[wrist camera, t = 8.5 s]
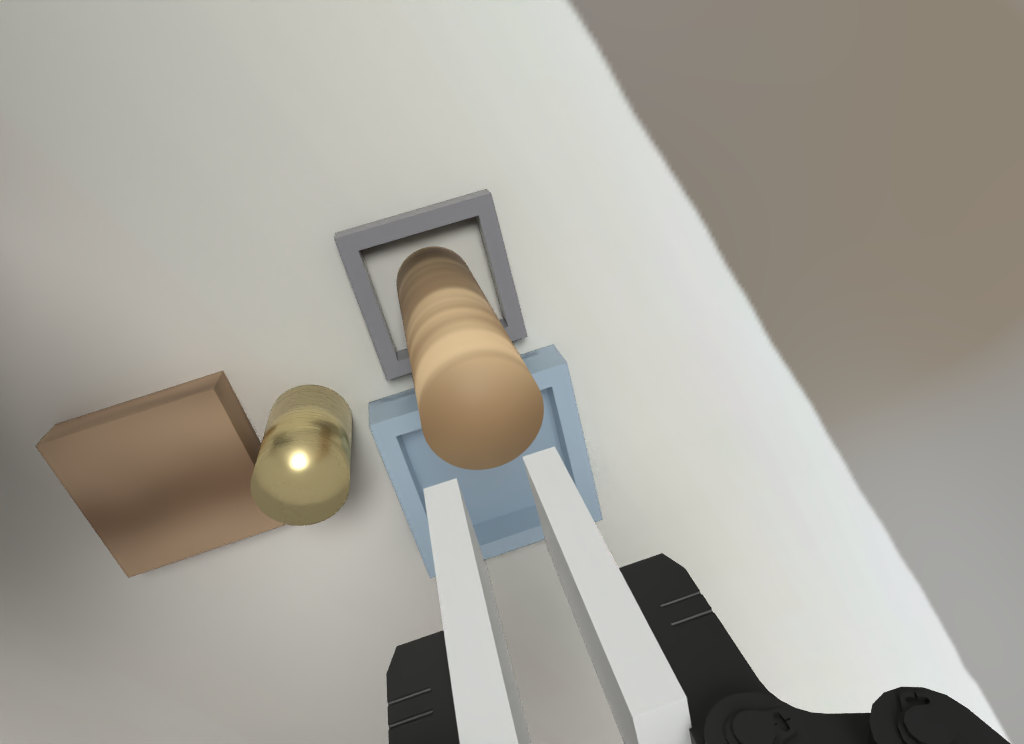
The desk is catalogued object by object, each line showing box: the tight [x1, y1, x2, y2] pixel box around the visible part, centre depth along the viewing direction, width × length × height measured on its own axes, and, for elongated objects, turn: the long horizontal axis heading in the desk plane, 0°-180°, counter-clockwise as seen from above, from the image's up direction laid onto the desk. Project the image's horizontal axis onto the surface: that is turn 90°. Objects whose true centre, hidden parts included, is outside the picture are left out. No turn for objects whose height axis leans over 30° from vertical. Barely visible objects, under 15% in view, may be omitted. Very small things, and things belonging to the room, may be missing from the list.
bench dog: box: [251, 385, 352, 526], centre depth 30 cm, size 4×4×6 cm
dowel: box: [397, 247, 544, 470], centre depth 25 cm, size 4×4×14 cm
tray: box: [369, 344, 603, 578], centre depth 34 cm, size 10×10×2 cm
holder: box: [334, 189, 527, 380], centre depth 31 cm, size 7×7×1 cm
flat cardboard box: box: [36, 371, 286, 578], centre depth 31 cm, size 8×8×2 cm
